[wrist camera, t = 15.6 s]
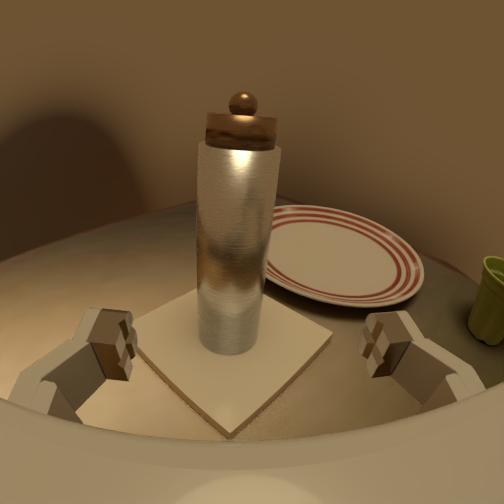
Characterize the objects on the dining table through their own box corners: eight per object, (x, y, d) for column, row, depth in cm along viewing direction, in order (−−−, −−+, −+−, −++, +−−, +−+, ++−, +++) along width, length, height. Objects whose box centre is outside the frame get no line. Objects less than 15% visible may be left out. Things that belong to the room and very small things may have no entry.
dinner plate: (450, 313, 32) (461, 293, 30) (244, 330, 28) (246, 304, 27) (369, 225, 56) (373, 210, 54) (230, 218, 52) (231, 201, 50)
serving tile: (226, 281, 35) (227, 272, 34) (330, 341, 27) (333, 332, 27) (122, 335, 25) (120, 326, 25) (229, 439, 18) (230, 433, 17)
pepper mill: (227, 307, 29) (242, 93, 19) (269, 334, 26) (303, 98, 17) (186, 332, 25) (184, 89, 16) (228, 365, 22) (248, 89, 13)
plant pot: (480, 361, 24) (518, 299, 20) (445, 311, 32) (471, 253, 28) (518, 349, 25) (550, 295, 20) (485, 307, 33) (509, 257, 29)
